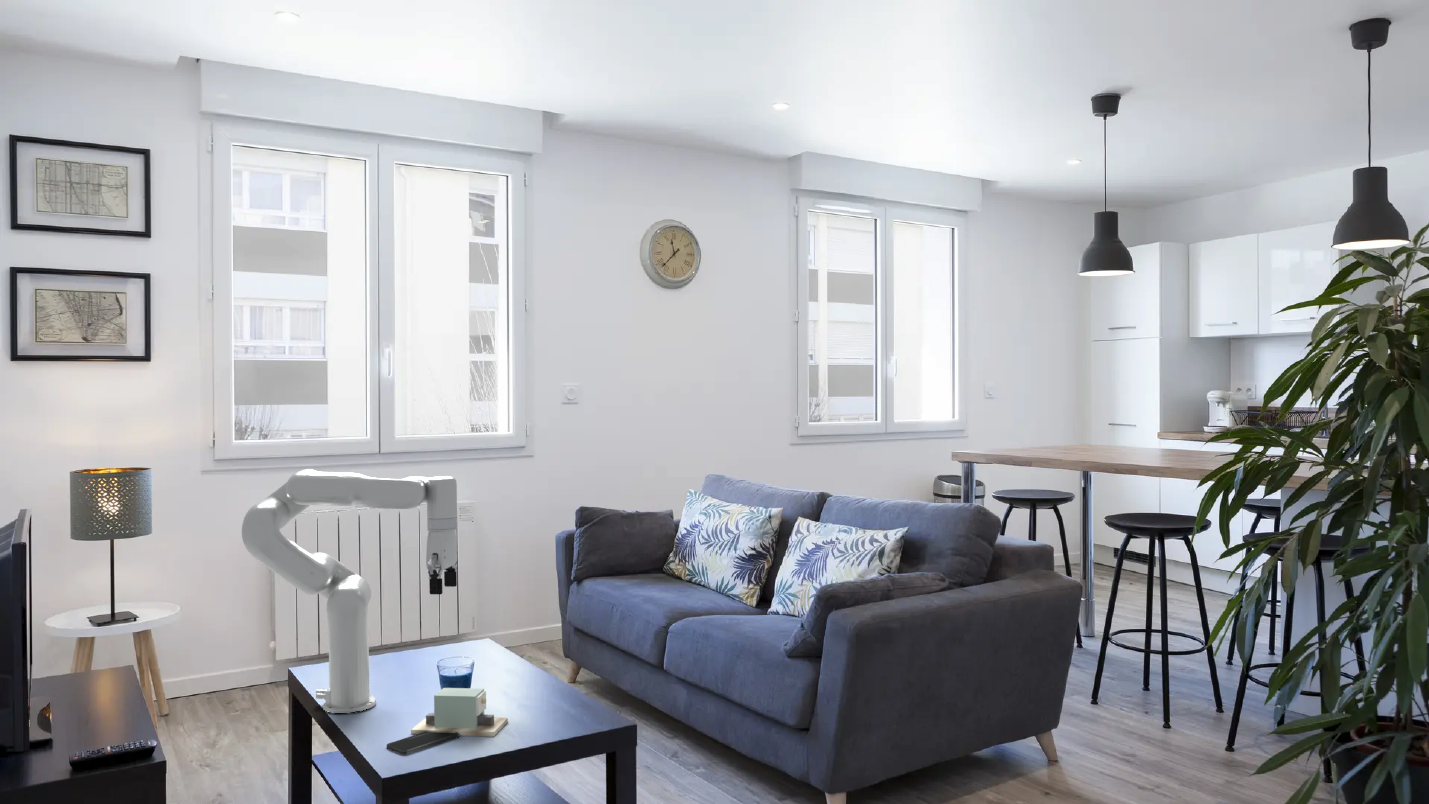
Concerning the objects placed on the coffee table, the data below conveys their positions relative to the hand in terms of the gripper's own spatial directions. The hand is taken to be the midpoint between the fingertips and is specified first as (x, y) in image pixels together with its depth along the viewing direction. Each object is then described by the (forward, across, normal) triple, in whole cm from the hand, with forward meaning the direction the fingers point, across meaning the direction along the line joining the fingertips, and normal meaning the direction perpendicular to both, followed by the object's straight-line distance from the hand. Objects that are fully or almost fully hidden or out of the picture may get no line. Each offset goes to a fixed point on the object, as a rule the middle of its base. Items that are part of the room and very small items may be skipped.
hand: (443, 590), depth 259 cm
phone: (+29, +31, +7) cm, 43 cm away
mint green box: (+27, +21, +12) cm, 36 cm away
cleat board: (+28, +21, +12) cm, 37 cm away
